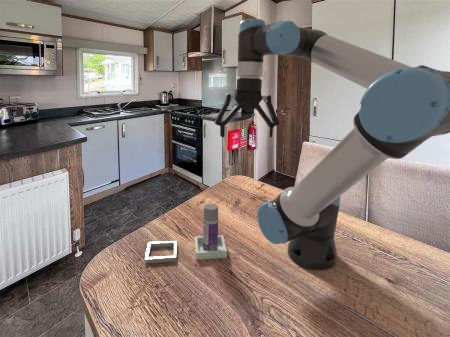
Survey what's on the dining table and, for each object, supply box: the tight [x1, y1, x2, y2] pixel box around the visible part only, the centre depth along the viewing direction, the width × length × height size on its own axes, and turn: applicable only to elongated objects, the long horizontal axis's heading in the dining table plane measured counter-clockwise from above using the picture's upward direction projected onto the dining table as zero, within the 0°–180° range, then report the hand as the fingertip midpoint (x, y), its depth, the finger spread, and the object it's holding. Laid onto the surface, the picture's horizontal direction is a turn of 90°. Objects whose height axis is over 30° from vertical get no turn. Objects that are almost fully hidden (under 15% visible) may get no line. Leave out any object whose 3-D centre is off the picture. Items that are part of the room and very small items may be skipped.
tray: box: [194, 234, 228, 261], centre depth 91 cm, size 10×10×2 cm
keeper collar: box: [144, 240, 178, 264], centre depth 89 cm, size 9×9×2 cm
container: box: [202, 203, 219, 251], centre depth 90 cm, size 5×5×15 cm
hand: (245, 147), depth 91 cm, fingers open, 13 cm apart
